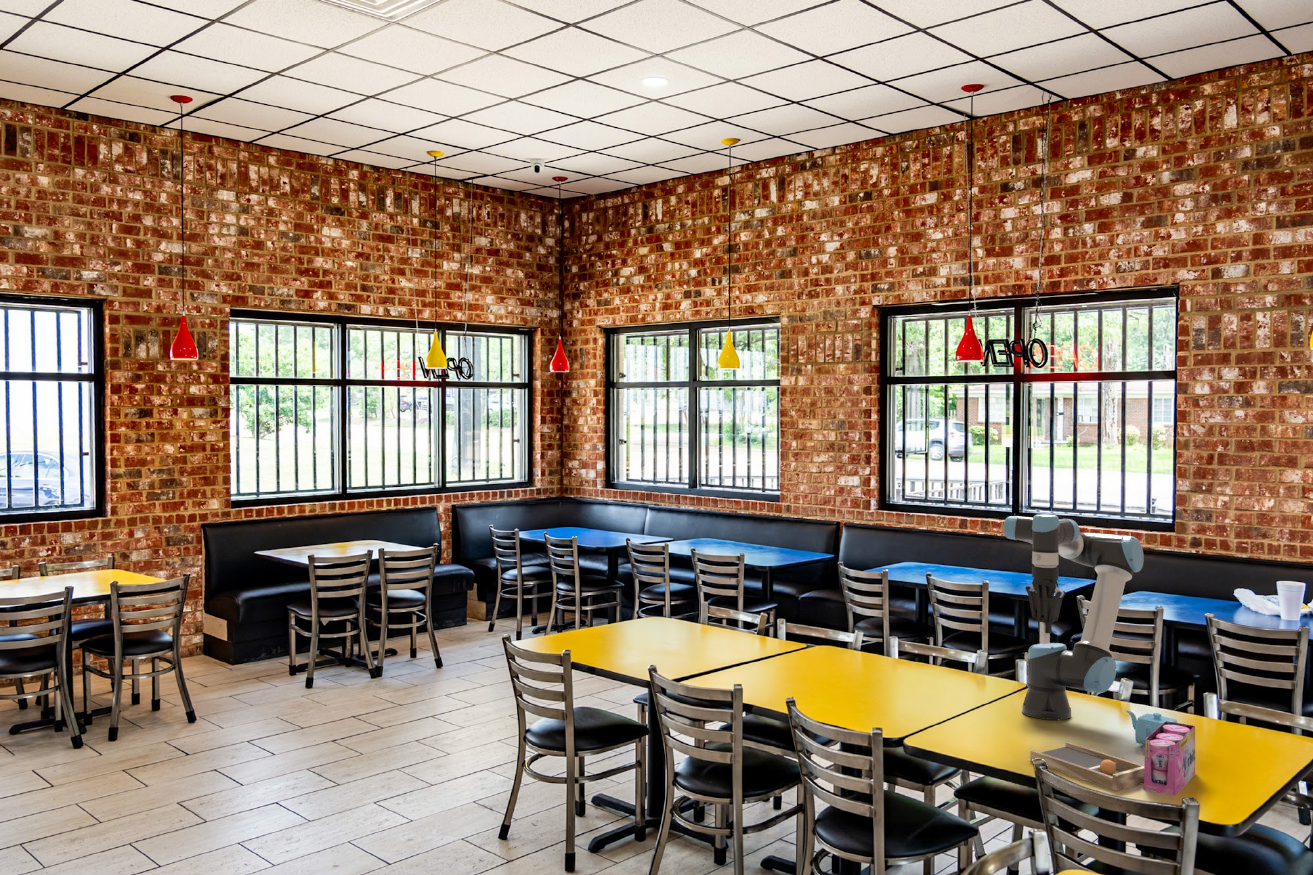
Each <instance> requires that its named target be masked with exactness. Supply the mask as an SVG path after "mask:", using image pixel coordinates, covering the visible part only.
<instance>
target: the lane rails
mask: <svg viewBox="0 0 1313 875" xmlns="http://www.w3.org/2000/svg"><path fill="white" fill-rule="evenodd" d="M1064 747H1068V748H1071V749H1075V750H1078V751H1081V752H1084V753H1087V754H1090V755H1093V756H1097V757H1100V758H1103V759H1106V760H1111V761H1112V762H1115V763H1116V768H1117V769H1120V770H1124V771H1123V772H1120V773H1116V774H1113V776H1110V775H1107V774H1104V773H1101V772H1098V771H1095V770H1092V769H1089V768H1086V767H1083V766H1080V765H1077V764H1074V763H1071V762H1068V761H1065V760H1062V759H1058V758H1055V757H1052V756H1049V755H1046V754H1043V753H1041V752H1040V751H1037V750H1035V749H1033V750H1030V752H1029V753H1030V754H1029V755H1030V756H1029V757H1030V760H1029V761H1030V762H1031V761H1032V759H1035V758H1041V759H1044V760H1045V761H1046V763H1047V765H1048V767H1047V768H1049V769H1051V770H1054V771H1057V772H1061V773H1063V774H1066V775H1069V776H1072V777H1074V778H1078V779H1081V780H1084V781H1087V782H1088V783H1089V782H1090V783H1092V784H1096V785H1098V786H1101V787H1104V788H1106V789H1109V790H1112V791H1115V792H1118V791H1121V790H1125V789H1129V788H1132V787H1136V786H1138V785H1144V765H1143V764H1140V763H1137V762H1134V761H1130V760H1128V759H1124V758H1122V757H1117V756H1114V755H1111V754H1109V753H1106V752H1105V753H1104V752H1101V751H1098V750H1095V749H1092V748H1089V747H1086V746H1082V745H1080V744H1075V743H1073V742H1070V741H1066V742H1065V746H1064Z"/></svg>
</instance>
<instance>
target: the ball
mask: <svg viewBox="0 0 1313 875" xmlns="http://www.w3.org/2000/svg"><path fill="white" fill-rule="evenodd" d="M1100 769H1101V771H1102V772H1103V773H1104V774H1107V775H1112V774H1113V773H1115V771H1116V765H1115V764H1114V762H1112V761H1111V760H1103V761H1102V762H1101V764H1100Z"/></svg>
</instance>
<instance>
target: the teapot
mask: <svg viewBox="0 0 1313 875" xmlns="http://www.w3.org/2000/svg"><path fill="white" fill-rule="evenodd" d="M1125 712H1126V713H1127V714H1129V716H1130V718H1131V724H1132V728H1133V729H1134V731H1135V734H1134V735H1135V736H1134V738H1135V742H1136V743H1137V744H1140V745H1142V746H1141V749H1145V739H1146V738H1147V737H1148V736H1149V735H1150V734H1152V733H1153V732H1154V731H1155V730H1156V729H1158V728H1159V727H1160V726H1161V725H1162V724H1163V723H1164V722H1166V721H1168V722H1175V723H1178V720H1177V719H1176V718H1173V717H1167V716H1164V715H1162V713H1159V712H1154V713H1146V714H1143V715H1140V716H1139V717H1136V714H1135V713H1134V712H1133V711H1130V710H1125Z"/></svg>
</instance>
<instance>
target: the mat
mask: <svg viewBox="0 0 1313 875" xmlns="http://www.w3.org/2000/svg"><path fill="white" fill-rule="evenodd" d="M1040 753H1043V754H1046V755H1049V756H1052V757H1055V758H1058V759H1062V760H1065V761H1068V762H1071V763H1074V764H1077V765H1080V766H1083V767H1086V768H1089V769H1092V770H1095V771H1098V772H1101V773H1103V772H1102V771H1101V769H1100V764H1101V762H1102V761H1103V760H1106V759H1103V758H1100V757H1097V756H1093V755H1090V754H1087V753H1084V752H1081V751H1078V750H1075V749H1071V748H1068V747H1065V746H1062V747H1058V748H1055V749H1050V750H1046V751H1042V752H1040ZM1114 764H1115V765H1116V763H1115V762H1114ZM1123 771H1124V770H1120V769H1117V768H1116V771H1115V773H1113V774H1116V773H1120V772H1123ZM1113 774H1112V775H1110V776H1113Z"/></svg>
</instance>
